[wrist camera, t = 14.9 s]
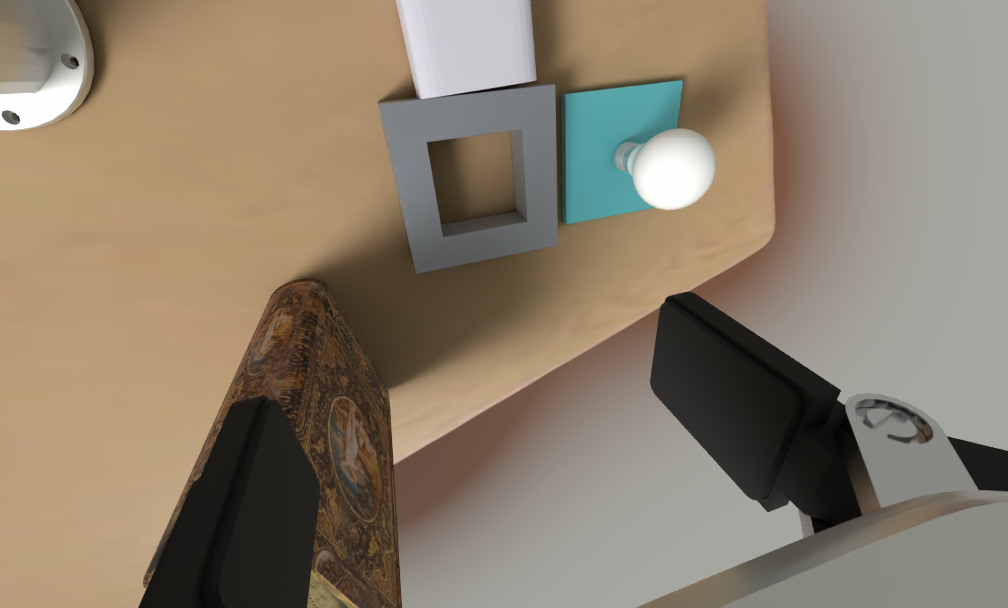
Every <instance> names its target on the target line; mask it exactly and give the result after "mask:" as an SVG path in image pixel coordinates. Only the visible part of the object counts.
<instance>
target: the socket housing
mask: <svg viewBox="0 0 1008 608" xmlns="http://www.w3.org/2000/svg"><path fill="white" fill-rule="evenodd" d="M378 106H379V110H380V115H381V119H382V124H383V128H384V133H385V137H386V142H387V146H388V151H389V155H390V160H391V164H392V169H393V173H394V178H395V182H396V187H397V191H398V196H399V200H400V205H401V209H402V214H403V218H404V223H405V227H406V232H407V236H408V241H409V245H410V250H411V254H412V259H413V263H414V267H415V271H416V274H419V273H424V272H429V271H434V270H439V269H444V268H449V267H454V266H459V265H464V264H469V263H474V262H479V261H484V260H489V259H494V258H499V257H504V256H509V255H514V254H519V253H524V252H529V251H533V250H538V249H543V248H548V247H553V246H558V218H557V159H556V100H555V84H534V85H525V86H516V87H507V88H498V89H489V90H480V91H471V92H465V93H459V94H453V95H447V96H440V97H434V98H427V99H420V98H409V99H400V100H391V101H382V102H378ZM506 131H510V133H511V147H512V161H513V175H514V189H515V203H516V211H515V212H509V213H503V214H498V215H492V216H487V217H481V218H475V219H470V220H464V221H459V222H453V223H447V224H442V225H441V222H440V217H439V211H438V205H437V199H436V194H435V188H434V182H433V176H432V171H431V165H430V159H429V153H428V148H427V142H432V141H439V140H446V139H454V138H461V137H469V136H476V135H483V134H491V133H498V132H506Z"/></svg>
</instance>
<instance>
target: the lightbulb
mask: <svg viewBox="0 0 1008 608" xmlns="http://www.w3.org/2000/svg"><path fill="white" fill-rule="evenodd" d="M614 164H615V166H616V167H617V168H618V169H619V170H622V171H625V172H627V173H629V174H630V175H631V176H632V177H633V183H634V186H635V189H636V191H637V193H638V194H639V196H640V197H641V198H642V199H643V200H644V201H645V202H646V203H648V204H649V205H651V206H653V207H655V208H659V209H663V210H676V209H681V208H684V207H687V206H689V205H691V204H693V203H694V202H696V201H697V200H699V199H700V198H701V197H702V196H703V195H704V194H705V193H706V192H707V190H708V189H709V188H710V186H711V184H712V182H713V180H714V177H715V174H716V168H717V160H716V155H715V151H714V149H713V147H712V145H711V144H710V142H709V141H708V140H707V139H706V138H705V137H704V136H703V135H701V134H699V133H698V132H696V131H693V130H690V129H683V128H676V129H670V130H666V131H663V132H661V133H659V134H657V135H655V136H654V137H652V138H651V139H650V140H648V141H647V142H646V143H642V144H638V143H633V142H624V143H622V144H621V145H620V146H619V147H618V148H617V149H616V151H615V154H614Z"/></svg>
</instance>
